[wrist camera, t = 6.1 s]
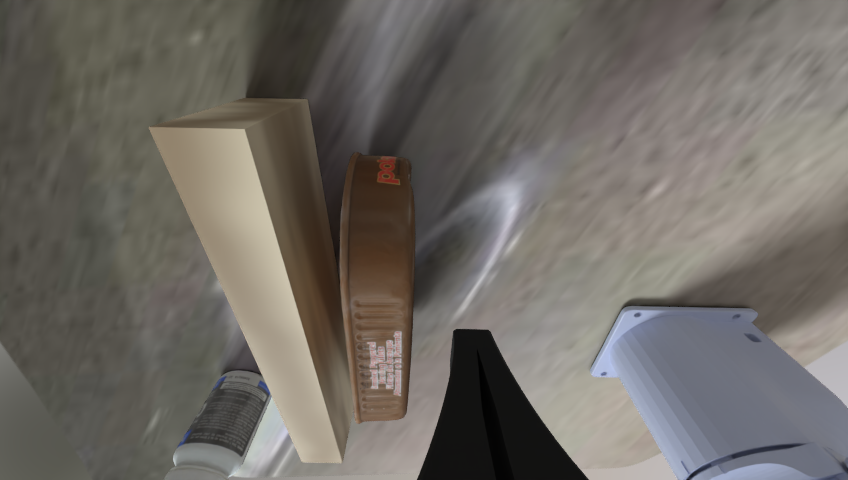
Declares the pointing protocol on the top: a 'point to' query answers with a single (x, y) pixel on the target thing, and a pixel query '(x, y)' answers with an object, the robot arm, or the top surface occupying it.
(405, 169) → the tin
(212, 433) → the pill bottle
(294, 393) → the board
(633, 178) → the top surface
